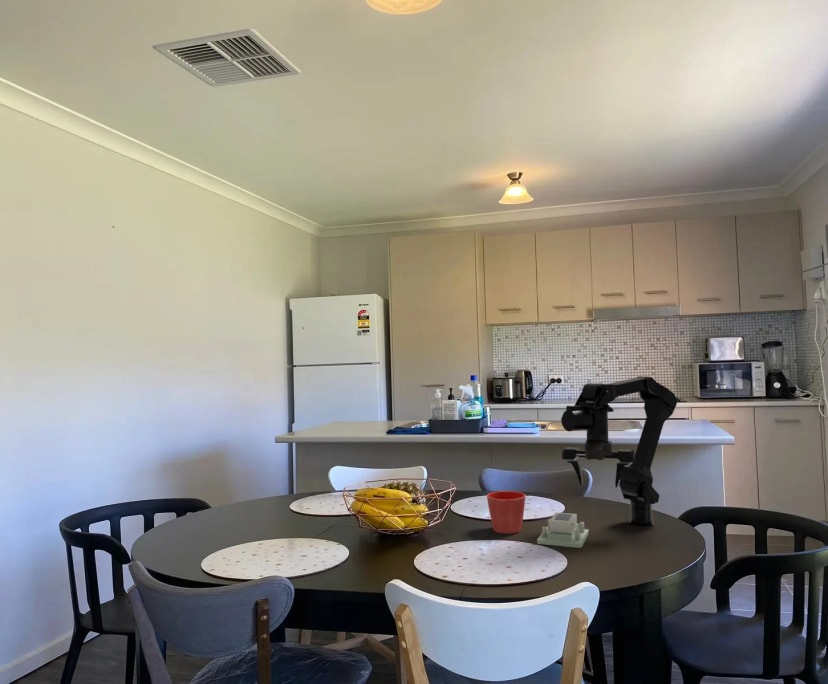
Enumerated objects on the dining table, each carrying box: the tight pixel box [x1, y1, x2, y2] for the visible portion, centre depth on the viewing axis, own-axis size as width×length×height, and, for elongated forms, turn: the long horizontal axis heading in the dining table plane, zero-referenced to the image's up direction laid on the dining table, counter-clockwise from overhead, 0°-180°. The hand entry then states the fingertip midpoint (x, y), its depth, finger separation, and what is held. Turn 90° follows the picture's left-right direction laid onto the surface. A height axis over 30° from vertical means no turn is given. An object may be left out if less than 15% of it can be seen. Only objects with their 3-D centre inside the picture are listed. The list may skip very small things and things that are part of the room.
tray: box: [536, 518, 590, 549], centre depth 163 cm, size 14×11×4 cm
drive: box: [548, 512, 578, 539], centre depth 163 cm, size 9×6×5 cm, turn 157°
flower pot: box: [486, 490, 526, 535], centre depth 172 cm, size 11×11×10 cm
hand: (598, 486), depth 170 cm, fingers open, 9 cm apart
